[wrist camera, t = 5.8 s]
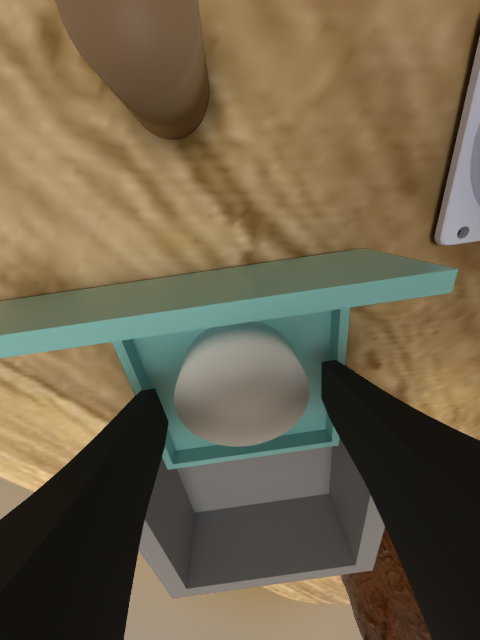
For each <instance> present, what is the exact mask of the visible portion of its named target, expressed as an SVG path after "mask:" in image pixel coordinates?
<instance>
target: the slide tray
mask: <svg viewBox="0 0 480 640" xmlns="http://www.w3.org/2000/svg"><path fill="white" fill-rule="evenodd" d="M457 272H458V269H457V268H452V267H447V266H443V265H438V264H434V263H429V262H425V261H420V260H416V259H411V258H407V257H402V256H397V255H393V254H388V253H384V252H379V251H375V250H370V249H366V248H363V249H356V250H349V251H342V252H335V253H329V254H322V255H315V256H308V257H301V258H294V259H287V260H280V261H274V262H267V263H260V264H253V265H246V266H239V267H232V268H225V269H219V270H212V271H205V272H198V273H191V274H184V275H177V276H170V277H164V278H157V279H150V280H143V281H136V282H129V283H122V284H115V285H109V286H102V287H95V288H88V289H81V290H74V291H67V292H60V293H54V294H47V295H40V296H33V297H26V298H19V299H12V300H5V301H0V358H5V357H12V356H18V355H25V354H32V353H39V352H46V351H53V350H60V349H67V348H74V347H81V346H88V345H95V344H101V343H108V342H112V344H113V346H114V348H115V350H116V353H117V355H118V357H119V360H120V362H121V364H122V366H123V369H124V371H125V373H126V376H127V378H128V380H129V382H130V385H131V387H132V389H133V392H134V394H135V396H136V395H137V394H138V393H139V392H140V391H141V390H147V389H153V388H155V389H156V392H157V394H158V397H159V399H160V402H161V404H162V407H163V409H164V412H165V414H166V417H167V419H168V422H169V423H168V430H167V437H166V443H165V448H164V452H163V455H162V458H163V460H164V462H165V465H166V467H167V469H168V470H170V469H177V468H184V467H191V466H198V465H205V464H212V463H219V462H226V461H233V460H240V459H247V458H254V457H261V456H268V455H275V454H282V453H289V452H296V451H303V450H310V449H317V448H324V447H331V446H338V445H339V435H338V433H337V432H336V430H335V428H334V426H333V424H332V422H331V421H330V418H329V416H328V414H327V411H326V409H325V406H324V404H323V401H322V399H321V365H322V362H324V361H331V360H337V361H339V362H340V363H342V364H343V365H346V353H347V341H348V330H349V318H350V307H357V306H364V305H371V304H378V303H385V302H392V301H399V300H406V299H413V298H420V297H426V296H433V295H440V294H447V293H452V290H453V286H454V283H455V279H456V276H457ZM254 321H256V322H260V323H263V324H266V325H268V326H270V327H272V328H274V329H276V330H277V331H278V332H280V333H281V334H282V335H283V336H284V337H285V338H286V339H287V341H288V342H289V343H290V345H291V347H292V349H293V351H294V353H295V355H296V357H297V358H298V360H299V362H300V364H301V366H302V368H303V370H304V372H305V374H306V376H307V379H308V382H309V389H310V394H309V401H308V405H307V407H306V409H305V411H304V413H303V415H302V417H301V418H300V419H299V420H298V422H297V423H296V424H295V425H294V426H293V427H292V428H290V429H289V430H288V431H287V432H285V433H283V434H282V435H280V436H278V437H276V438H275V439H272V440H270V441H267V442H264V443H261V444H257V445H252V446H242V447H233V446H224V445H218V444H215V443H211V442H209V441H206V440H204V439H202V438H200V437H198V436H196V435H195V434H193V433H192V432H191V431H190V430H189V429H187V428H186V426H185V425H184V424H183V423H182V421H181V420H180V419H179V417H178V414H177V412H176V409H175V405H174V391H175V387H176V383H177V380H178V377H179V373H180V370H181V366H182V363H183V359H184V356H185V354H186V351H187V349H188V348H189V346H190V344H191V343H192V342H193V341H194V339H195V338H196V337H197V336H199V335H200V334H201V333H202V332H204V331H205V330H207V329H208V328H212V327H219V326H226V325H233V324H240V323H247V322H254Z"/></svg>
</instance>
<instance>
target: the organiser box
mask: <svg viewBox="0 0 480 640" xmlns="http://www.w3.org/2000/svg"><path fill="white" fill-rule="evenodd" d="M384 528H385V525H384V523H383V521H382V519H381V517H380V514H379V512H378V510H377V508H376V506H375V503H374V501H373V499H372V497H371V495H370V492H369V490H368V488H367V486H366V484H365V482H364V480H363V479H362V477H361V475H360V473H359V471H358V469H357V468H356V466H355V464H354V462H353V460H352V459H351V457H350V455H349V453H348V451H347V450H346V448H345V446H344V444H343V443H342V441H341V439H340V437H339V445H338V446H331V447H324V448H317V449H310V450H303V451H296V452H289V453H282V454H275V455H268V456H261V457H254V458H247V459H240V460H233V461H226V462H219V463H212V464H205V465H198V466H191V467H184V468H177V469H170V470H168V469H167V467H166V465H165V462H164V460H163V458H162V459H161V463H160V466H159V470H158V473H157V477H156V480H155V484H154V488H153V491H152V495H151V498H150V502H149V505H148V509H147V513H146V517H145V521H144V525H143V530H142V535H141V540H140V546H139V551H140V553H141V554H142V556H143V557H144V558H145V560H146V561H147V563H148V564H149V566H150V567H151V568H152V570H153V571H154V573H155V574H156V576H157V577H158V578H159V580H160V581H161V583H162V584H163V586H164V587H165V588H166V590H167V591H168V593H169V594H170V596H171V597H172V598H180V597H187V596H194V595H201V594H208V593H216V592H223V591H230V590H237V589H244V588H251V587H259V586H266V585H273V584H280V583H287V582H294V581H301V580H308V579H315V578H323V577H330V576H337V575H344V574H351V573H358V572H365V571H372V570H373V567H374V564H375V560H376V557H377V553H378V550H379V546H380V543H381V539H382V536H383V532H384Z"/></svg>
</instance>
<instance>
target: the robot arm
mask: <svg viewBox="0 0 480 640" xmlns="http://www.w3.org/2000/svg"><path fill="white" fill-rule="evenodd" d="M460 229H461V232H460V234H459V235H458V236H457V233H458V231H459V230H460ZM435 241H436V243H437V244H439V245H455V244H462V243H469V242H476V241H480V37H479V41H478V46H477V50H476V55H475V59H474V64H473V68H472V73H471V77H470V81H469V86H468V90H467V95H466V99H465V104H464V108H463V112H462V117H461V121H460V126H459V130H458V135H457V139H456V144H455V148H454V152H453V157H452V161H451V166H450V170H449V175H448V179H447V183H446V188H445V192H444V197H443V201H442V206H441V210H440V215H439V219H438V223H437V228H436V232H435ZM321 399H322V401H323V404H324V406H325V409H326V411H327V414H328V416H329V418H330V421H331V422H332V424H333V426H334V428H335V430H336V432H337V433H338V435H339V437H340V439H341V441H342V443H343V444H344V446H345V448H346V450H347V451H348V453H349V455H350V457H351V459H352V460H353V462H354V464H355V466H356V468H357V469H358V471H359V473H360V475H361V477H362V479H363V480H364V482H365V484H366V486H367V488H368V490H369V492H370V495H371V497H372V499H373V501H374V503H375V506H376V508H377V510H378V512H379V514H380V517H381V519H382V521H383V523H384V525H385V528H386V530H387V532H388V535H389V537H390V539H391V541H392V544H393V546H394V548H395V551H396V553H397V555H398V557H399V560H400V562H401V565H402V567H403V569H404V572H405V574H406V576H407V579H408V581H409V584H410V586H411V588H412V591H413V593H414V596H415V598H416V600H417V603H418V605H419V608H420V610H421V613H422V615H423V618H424V620H425V623H426V625H427V628H428V630H429V633H430V635H431V638H432V640H480V441H479V440H477V439H475V438H473V437H470V436H468V435H466V434H464V433H462V432H460V431H458V430H455V429H453V428H451V427H449V426H447V425H445V424H443V423H441V422H439V421H437V420H435V419H433V418H431V417H429V416H427V415H426V414H424V413H422V412H420V411H418V410H416V409H414V408H413V407H411V406H409V405H407V404H406V403H404V402H402V401H400V400H399V399H397V398H395V397H393V396H392V395H390V394H388V393H387V392H385V391H383V390H382V389H380V388H379V387H377V386H375V385H374V384H372V383H371V382H369V381H368V380H366V379H365V378H363V377H361V376H360V375H358V374H357V373H355V372H354V371H352V370H351V369H349V368H348V367H346V366H345V365H343V364H342V363H340V362H339V361H337V360H331V361H324V362H322V365H321ZM168 423H169V422H168V419H167V417H166V414H165V412H164V409H163V407H162V404H161V402H160V399H159V397H158V394H157V392H156V389H155V388H153V389H147V390H141V391H140V392H139V393H138V394H137V395H136V396H135V397H134V398H133V399H132V400H131V401H130V402H129V403H128V404H127V405H126V406H125V407H124V408H123V409H122V410H121V411H120V412H119V413H118V414H117V416H116V417H115V418H114V419H113V420H112V421H111V422H110V423H109V424H108V425H107V426H106V427H105V428H104V429H103V430H102V431H101V432H100V433H99V434H98V435H97V436H96V437H95V438H94V439H93V440H92V441H91V442H90V443H89V444H88V445H87V446H86V447H85V448H84V449H82V450H81V451H80V452H79V453H78V454H77V455H76V456H75V457H74V458H73V459H72V460H71V461H70V462H69V463H68V464H67V465H66V466H64V467H63V468H62V469H61V470H60V471H59V472H58V473H57V474H56V475H54V476H53V477H52V478H51V479H50V480H49V481H47V482H46V483H45V484H44V485H43V486H42V487H40V488H39V489H38V490H37V491H36V492H34V493H33V494H32V495H31V496H30V497H29V498H27V499H26V500H25V501H23V502H22V503H21V504H20V505H18V506H17V507H16V508H15V509H13V510H12V511H11V512H9V513H8V514H7V515H6V516H4V517H3V518H2V519H1V520H0V640H124V633H125V627H126V620H127V614H128V608H129V601H130V595H131V589H132V584H133V577H134V572H135V567H136V561H137V555H138V551H139V546H140V540H141V535H142V530H143V525H144V521H145V517H146V513H147V509H148V505H149V502H150V498H151V495H152V491H153V488H154V484H155V480H156V477H157V473H158V470H159V466H160V463H161V459H162V455H163V452H164V448H165V443H166V437H167V430H168Z"/></svg>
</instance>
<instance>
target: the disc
mask: <svg viewBox="0 0 480 640" xmlns="http://www.w3.org/2000/svg"><path fill="white" fill-rule="evenodd" d="M309 394H310V389H309V382H308V379H307V376H306V374H305V372H304V370H303V368H302V366H301V364H300V362H299V360H298V358H297V357H296V355H295V353H294V351H293V349H292V347H291V345H290V343H289V342H288V341H287V339H286V338H285V337H284V336H283V335H282V334H281V333H280V332H278V331H277V330H276V329H274V328H272V327H270V326H268V325H266V324H263V323H260V322H256V321H254V322H247V323H240V324H233V325H226V326H219V327H212V328H208V329H207V330H205V331H204V332H202V333H201V334H200V335H199V336H197V337H196V338H195V339H194V341H193V342H192V343H191V344H190V346H189V348H188V349H187V351H186V354H185V356H184V359H183V363H182V366H181V370H180V373H179V377H178V380H177V383H176V387H175V391H174V405H175V409H176V412H177V414H178V417H179V419H180V420H181V421H182V423H183V424H184V425H185V426H186V428H187V429H189V430H190V431H191V432H192V433H193V434H195V435H196V436H198V437H200V438H202V439H204V440H206V441H209V442H211V443H215V444H218V445H224V446H233V447H242V446H252V445H257V444H261V443H264V442H267V441H270V440H272V439H275V438H276V437H278V436H280V435H282V434H283V433H285V432H287V431H288V430H289V429H290V428H292V427H293V426H294V425H295V424H296V423H297V422H298V420H299V419H300V418H301V417H302V415H303V413H304V411H305V409H306V407H307V405H308V401H309Z"/></svg>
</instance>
